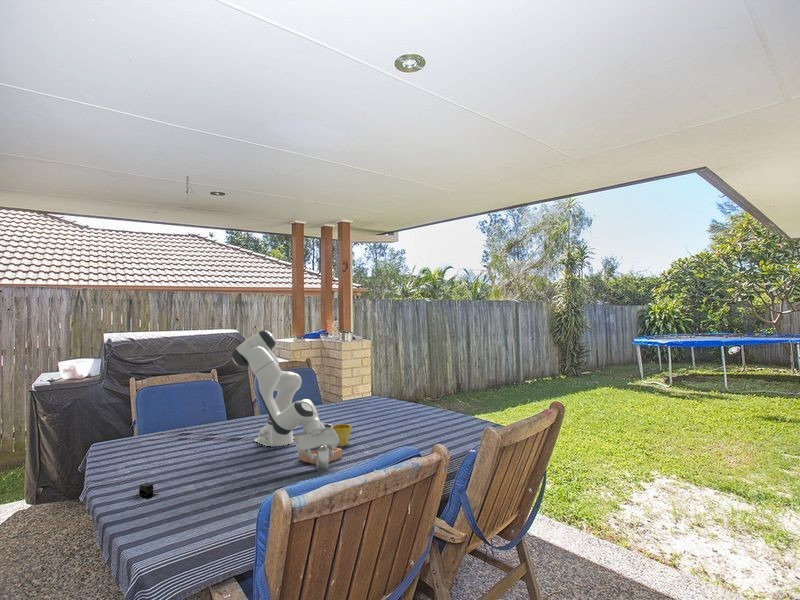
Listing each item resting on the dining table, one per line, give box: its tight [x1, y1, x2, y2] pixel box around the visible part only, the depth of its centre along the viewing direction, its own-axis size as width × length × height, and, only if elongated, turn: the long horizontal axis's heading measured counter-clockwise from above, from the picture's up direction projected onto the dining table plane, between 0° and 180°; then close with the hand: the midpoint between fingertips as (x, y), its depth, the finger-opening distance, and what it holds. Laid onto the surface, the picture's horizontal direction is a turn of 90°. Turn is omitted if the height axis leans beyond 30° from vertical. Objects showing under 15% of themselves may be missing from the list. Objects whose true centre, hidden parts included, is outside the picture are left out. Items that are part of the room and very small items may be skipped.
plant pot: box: [332, 423, 352, 447], centre depth 237 cm, size 10×10×10 cm
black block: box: [134, 482, 159, 500], centre depth 170 cm, size 12×7×5 cm, turn 67°
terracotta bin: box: [298, 447, 343, 465], centre depth 214 cm, size 15×15×4 cm
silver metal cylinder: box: [315, 445, 330, 472], centre depth 199 cm, size 6×6×11 cm
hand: (322, 457), depth 198 cm, fingers open, 8 cm apart
